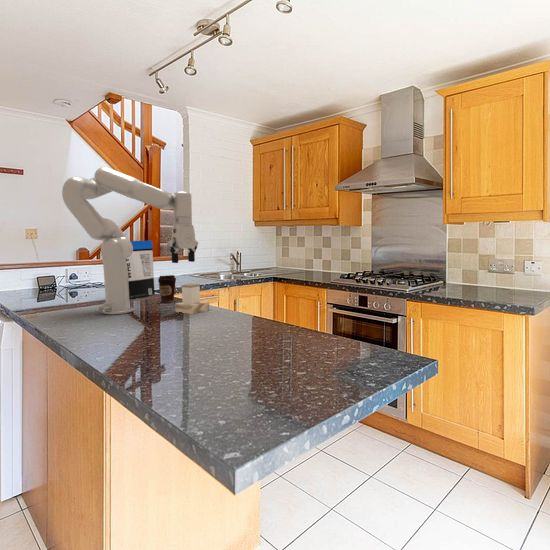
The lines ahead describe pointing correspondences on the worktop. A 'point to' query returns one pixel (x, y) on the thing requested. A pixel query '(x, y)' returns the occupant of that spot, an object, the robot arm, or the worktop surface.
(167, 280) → the coffee cup
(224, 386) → the worktop surface
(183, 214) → the robot arm
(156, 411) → the worktop surface
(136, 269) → the protein powder
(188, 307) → the block
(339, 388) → the worktop surface
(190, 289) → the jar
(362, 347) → the worktop surface
